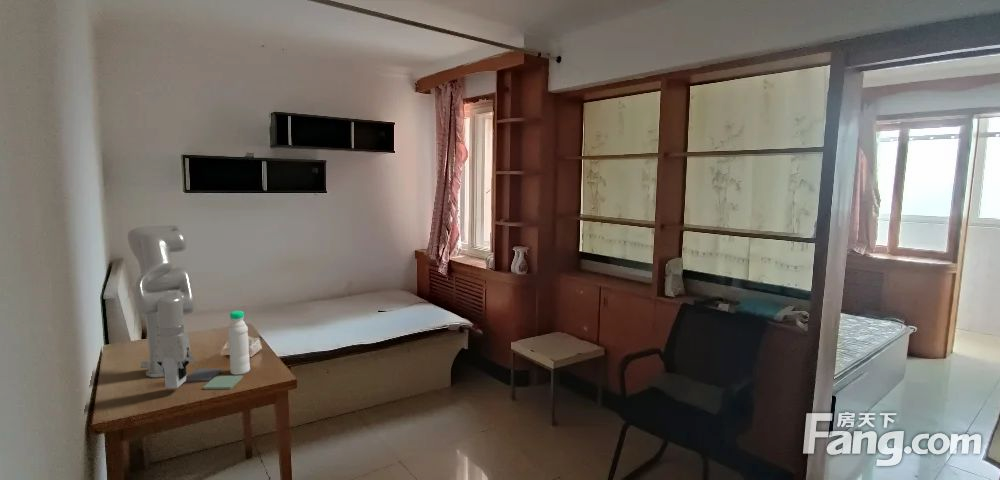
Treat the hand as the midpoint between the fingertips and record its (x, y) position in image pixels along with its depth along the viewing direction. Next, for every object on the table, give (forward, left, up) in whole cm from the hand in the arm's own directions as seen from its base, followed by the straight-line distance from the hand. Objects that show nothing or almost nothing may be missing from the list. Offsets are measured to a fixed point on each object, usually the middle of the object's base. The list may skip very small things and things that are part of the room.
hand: (175, 376), depth 176 cm
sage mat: (+14, +6, -6) cm, 16 cm away
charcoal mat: (+3, +13, -6) cm, 15 cm away
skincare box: (0, 0, -3) cm, 3 cm away
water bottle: (+15, +17, -6) cm, 23 cm away
